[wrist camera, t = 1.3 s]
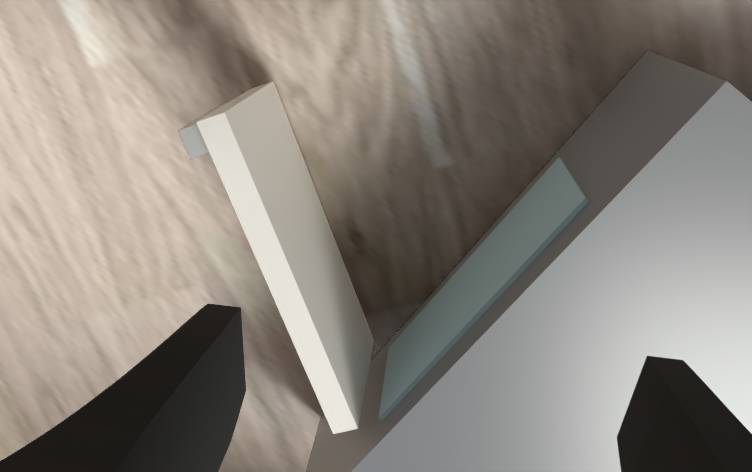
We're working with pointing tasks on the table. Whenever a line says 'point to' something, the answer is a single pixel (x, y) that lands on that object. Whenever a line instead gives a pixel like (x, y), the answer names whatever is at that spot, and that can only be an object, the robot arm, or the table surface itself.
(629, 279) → the camera housing
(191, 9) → the table surface
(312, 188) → the side door
